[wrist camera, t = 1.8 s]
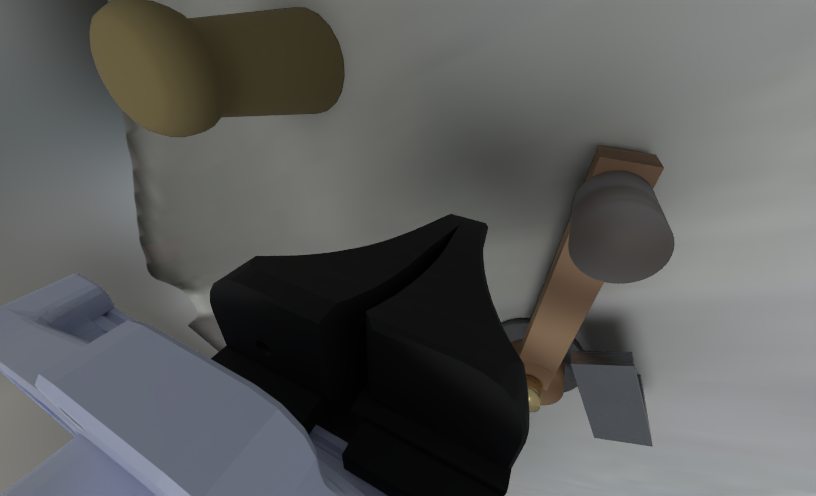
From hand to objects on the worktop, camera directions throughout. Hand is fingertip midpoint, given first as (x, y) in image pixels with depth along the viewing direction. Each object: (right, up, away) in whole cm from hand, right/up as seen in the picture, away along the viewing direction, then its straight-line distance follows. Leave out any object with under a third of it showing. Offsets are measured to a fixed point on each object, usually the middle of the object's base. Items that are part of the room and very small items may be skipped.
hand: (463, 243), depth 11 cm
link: (+8, -3, +9) cm, 12 cm away
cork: (-9, +12, +10) cm, 18 cm away
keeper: (+12, -7, +11) cm, 17 cm away
